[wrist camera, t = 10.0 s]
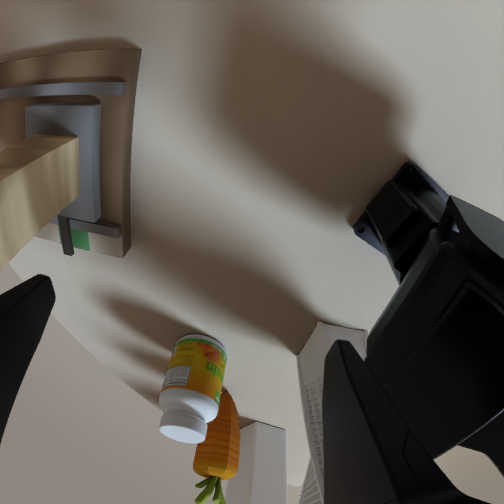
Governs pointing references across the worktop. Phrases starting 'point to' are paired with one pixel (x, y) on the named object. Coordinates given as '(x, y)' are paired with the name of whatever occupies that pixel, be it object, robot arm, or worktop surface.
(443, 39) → the worktop surface
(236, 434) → the carrot
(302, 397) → the skyscraper
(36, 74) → the board
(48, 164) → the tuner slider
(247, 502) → the white square bottle
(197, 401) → the supplement bottle
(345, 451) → the robot arm
